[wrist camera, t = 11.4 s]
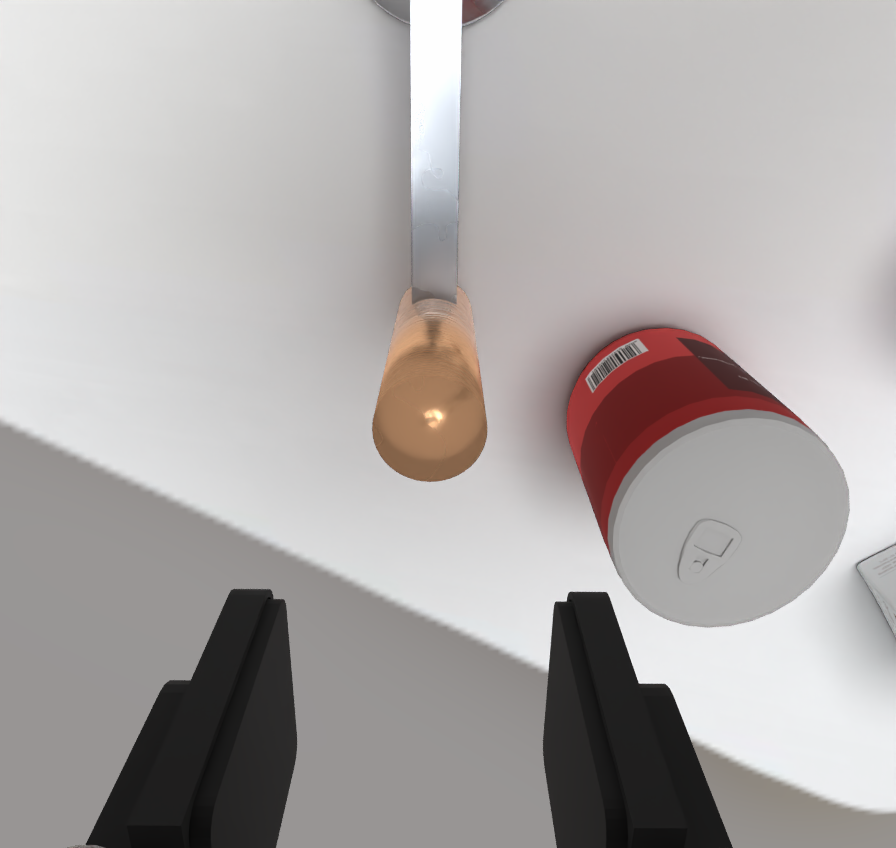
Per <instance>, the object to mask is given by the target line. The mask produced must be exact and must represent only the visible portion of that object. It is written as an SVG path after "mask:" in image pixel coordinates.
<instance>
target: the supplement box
mask: <svg viewBox="0 0 896 848" xmlns="http://www.w3.org/2000/svg"><path fill="white" fill-rule="evenodd" d="M858 571H859V572H860V574H861V575H862V577H863V578H864V580H865V582H866V583H867V585H868V587H869V588H870V590H871V592H872V593H873V595H874V597H875V599H876V600H877V602H878V604H879V606H880V608H881V610H882V612H883V613H884V615H885V617H886V619H887V621H888V623H889V625H890V627H891V629H892V631H893V633H894V635H895V637H896V545H894V546H892V547H890V548H888V549H886V550H884V551H882V552H880V553H878V554H876V555H874V556H872V557H870V558H868V559H867V560H865V561H863V562H861V563H860V564H858Z"/></svg>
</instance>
